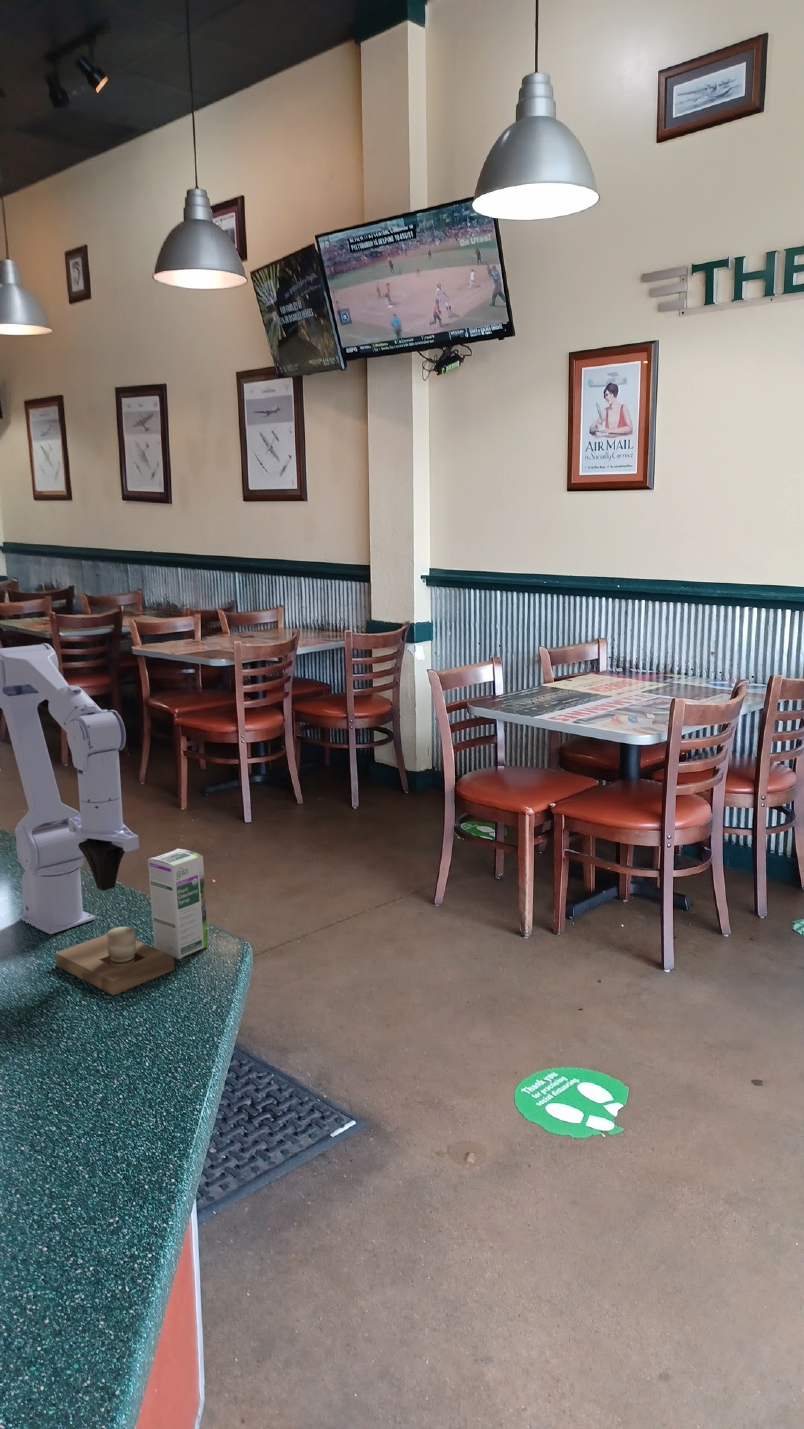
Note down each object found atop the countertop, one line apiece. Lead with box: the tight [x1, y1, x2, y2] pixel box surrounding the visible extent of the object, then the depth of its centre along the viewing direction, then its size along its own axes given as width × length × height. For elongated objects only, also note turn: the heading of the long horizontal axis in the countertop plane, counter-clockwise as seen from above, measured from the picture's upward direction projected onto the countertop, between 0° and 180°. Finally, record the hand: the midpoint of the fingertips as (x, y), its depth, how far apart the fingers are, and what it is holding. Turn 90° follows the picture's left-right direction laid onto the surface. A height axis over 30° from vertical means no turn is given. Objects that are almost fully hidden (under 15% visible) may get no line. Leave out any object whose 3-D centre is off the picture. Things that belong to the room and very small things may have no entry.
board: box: [55, 933, 175, 996], centre depth 143 cm, size 14×10×2 cm
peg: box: [106, 926, 137, 969], centre depth 141 cm, size 4×4×6 cm
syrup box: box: [147, 848, 209, 960], centre depth 147 cm, size 6×6×14 cm
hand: (106, 888), depth 145 cm, fingers closed
